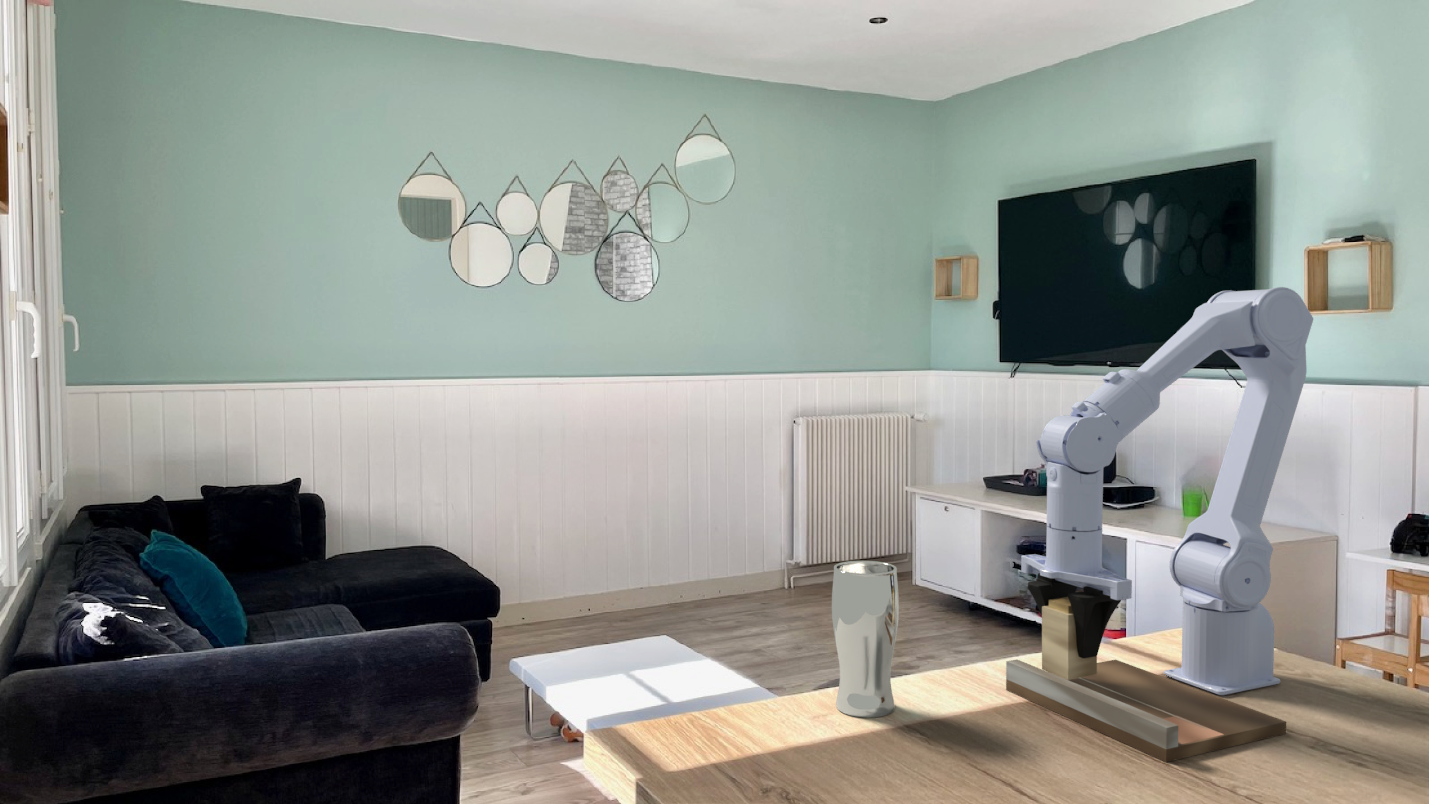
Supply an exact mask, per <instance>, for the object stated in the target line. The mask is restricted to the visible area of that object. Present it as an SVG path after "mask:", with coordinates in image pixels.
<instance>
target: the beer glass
mask: <svg viewBox="0 0 1429 804" xmlns="http://www.w3.org/2000/svg"><path fill="white" fill-rule="evenodd" d="M897 572H898V568H897V566H895V565H893V564H891V563H887V562H883V561H875V560H850V561H843V562H839V563H837V564H834V566H833V578H832V579H833V580H832V592H831V619H832V626H833V627H832V629H833V634H834V635H833V636H834V639H835V640H834V641H835V646H836V652H837V658H838V663H839V664H838V665H839V683H838V684H839V685H838V689H837V696H836V703H835V706H836V709H837V710H838V711H840V712H841V713H843V714H844V715H847V716H851V717H857V718H865V719H866V718H868V719H869V718H870V719H871V718H881V717H885V716H887V715H889V714H891V713H892V712H894V710H895V702H894V701H895V700H894V696H893V690H892V683H891V679H892V678H891V669H892V662H893V656H894V651H895V646H896V645H895V644H896V640H897V634H898V627H899V626H898V625H899V615H900V613H899V611H900V605H899V603H900V601H899V597H900V596H899V584H898V574H897Z"/></svg>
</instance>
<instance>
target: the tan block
mask: <svg viewBox="0 0 1429 804" xmlns="http://www.w3.org/2000/svg"><path fill="white" fill-rule="evenodd" d="M1097 663H1098V655H1097V656H1095V657H1089V658H1081V657H1079V656H1078V651H1077V643H1076V624H1075V618H1074V614H1073V610H1072V606H1071V604H1070V601H1069V599H1068V597H1063V598H1057V599H1050V600H1049V605H1048V606H1042V617H1041V669H1042V670H1044V671H1047V672H1050V673H1052V674H1055V675H1057V676H1060V677H1062V678H1065V679H1067V680H1070V679H1075V678H1080V677H1085V676H1090V675H1095V674H1097Z"/></svg>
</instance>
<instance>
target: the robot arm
mask: <svg viewBox="0 0 1429 804" xmlns="http://www.w3.org/2000/svg"><path fill="white" fill-rule="evenodd" d="M1313 322H1314V316H1313V315H1312V313H1311V312H1310V310H1309V309H1308V306H1307V305H1306V303H1305V302H1304V299H1303V298H1302V297H1301V296H1300V294H1299V293H1298V292H1296V291H1295V290H1293V289H1292V288H1289V287H1283V286H1282V287H1281V286H1279V287H1272V288H1269V289H1267V288H1265V289H1252V290H1249V289H1248V290H1237V291H1236V290H1232V289H1230V290H1222V291H1219V292H1217V293H1215V294H1214V295H1212V296H1211V297H1210V298H1209V299H1208V301H1207V302H1204V303H1202V304H1201V305H1199V306H1198V307H1196V308H1195V309H1194V312H1193V315H1192V317H1191V318H1190V319H1189V320H1188V321H1187V322H1186V323H1185V324H1184V325H1182V326H1181V327H1180V328H1179V329H1178V330H1177V331H1176V333H1175V334H1173V335H1172V336H1171V337H1170V338H1169V339H1168V340H1166V342H1165V343H1164V344H1163V345H1162V346H1161V347H1159V348H1158V350H1156V351H1155V352H1154V353H1153V354H1152V355H1151V356H1150V357H1149V358H1148V359H1147V360H1146V361H1145V362H1144V363H1143V364H1142V365H1141V366H1139V368H1138V369H1136V370H1135V369H1127V368H1124V369H1120V370H1119V371H1110V372H1108V373H1107V374H1106V375H1104V376H1103V377H1102V381H1103V382H1104V383H1103V384H1102V385H1100V386H1099V387H1098V388H1097V389H1096V390H1095V391H1094V392H1092V393H1091V394H1090V395H1089V396H1088V397H1087V398H1085V399H1084V400H1083V401H1077V402H1075V403H1074V404H1072V406H1071V412H1070V415H1066V414H1063V415H1058V416H1055V417H1054V418H1052V419H1051V420H1049V421H1048V422H1047V424H1046V425H1045V426H1044V428H1043V431H1042V433H1041V436H1040V438H1039V439H1037V440H1036V442H1035V443H1036V449H1037V452H1038V454H1039V456H1040V458H1041V459H1042V460H1043V462H1044V463H1045V467H1046V470H1045V471H1046V475H1045V476H1046V478H1047V479H1046V483H1047V484H1046V537H1045V538H1046V541H1045V542H1046V545H1045V547H1046V550H1045V551H1046V552H1045V553H1046V555H1045V556H1044V555H1040V554H1036V553H1034V554H1025V555H1021V557H1020V558H1021V560H1020V561H1021V563H1020V564H1021V567H1020V569H1021V570H1020V571H1021V573H1024V574H1027V575H1028V574H1029V575H1030V574H1033V575H1037V577H1036V578H1035V580H1033V581H1032V580H1031V581H1028V583H1027V589H1028V591H1029V593H1030V594H1031V596H1032V598H1033V599H1034V602H1035V603H1036V606H1037V609H1038V611H1039V613H1040V616H1041V618H1042V606H1048V605H1049V600H1050V599H1057V598H1063V597H1068V599H1069V601H1070V604H1071V606H1072V610H1073V614H1074V618H1075V624H1076V643H1077V651H1078V656H1079V657H1081V658H1089V657H1095V656H1097V657H1098V654H1099V651H1100V650H1099V649H1100V647H1101V643H1102V639H1103V636H1104V633H1105V631H1106V628H1107V625H1108V624H1109V621H1110V620H1111V617H1112V616H1113V614H1114V612H1115V610H1116V609H1117V608H1118V606H1119V604H1120V603H1121V602H1122V601H1123V600H1129V599H1132V598H1133V597H1132V596H1133V595H1132V592H1133V591H1132V588H1133V586H1132V585H1133V584H1132V583H1133V581H1132V579H1128V578H1126V577H1123V576H1121V575H1119V574H1116V573H1114V572H1112V571H1110V570H1109V569H1106V568H1104V567H1103V563H1102V562H1103V512H1104V511H1103V507H1104V506H1103V505H1104V504H1103V500H1104V499H1103V497H1104V495H1103V494H1104V468H1105V467H1108V466H1110V464H1112V461H1113V460H1114V459H1115V455H1116V452H1117V447H1118V444H1120V443H1121V441H1122V440H1123V439H1125V438H1126V437H1127V436H1128V435H1129V434H1130V433H1132V432H1133V431H1134V430H1135V429H1136V428H1137V427H1139V426H1140V425H1141V424H1142V423H1143V422H1145V420H1148V419H1149V418H1150V416H1153V414H1154V413H1155V412H1157V410H1158V409H1159V408H1160V404H1161V402H1160V401H1161V393H1162V392H1163V391H1164V390H1166V389H1167V388H1168V387H1169V386H1171V385H1172V384H1173V383H1175V382H1176V381H1177V380H1179V379H1180V378H1182V377H1183V376H1185V374H1187V373H1188V372H1189V371H1191V370H1192V369H1194V368H1195V367H1196V366H1197V365H1199V364H1200V363H1201V362H1203V361H1204V360H1205V359H1207V358H1208V357H1209V356H1212V354H1213V353H1215V352H1217V351H1223V352H1224V354H1226V356H1228V357H1229V358H1230V359H1231V360H1233V361H1234V362H1235V363H1236V364H1237V365H1238V366H1239V368H1240V369H1241V370H1242V373H1243V374H1244V376H1245V378H1246V379H1247V381H1246V385H1245V387H1244V390H1243V394H1242V397H1241V401H1240V403H1239V406H1238V411H1237V414H1236V416H1235V420H1234V422H1233V427H1232V429H1231V434H1230V435H1229V440H1228V443H1227V446H1226V449H1225V451H1224V456H1223V459H1222V463H1221V466H1220V469H1219V472H1218V475H1217V478H1216V481H1215V485H1214V488H1213V492H1212V495H1211V498H1210V501H1209V505H1208V508H1207V510H1206V511H1205V512H1204V513H1202V514H1201V515H1200V516H1198V517H1196V518H1195V519H1194V520H1192V521H1191V522H1190V523H1188V525H1187V527H1186V530H1185V534H1184V536H1183V538H1182V539H1181V541H1179V543H1177V545H1176V546H1175V547H1174V549H1173V551H1172V552H1171V555H1170V559H1169V573H1170V575H1171V577H1172V579H1173V581H1174V582H1175V583H1176V584H1177V586H1179V587H1180V588H1179V590H1180V592H1179V593H1180V594H1179V596H1181V597H1182V625H1181V627H1182V629H1181V631H1182V632H1181V633H1182V635H1181V667H1176V668H1171V669H1165V670H1163V675H1164V674H1166V675H1167V676H1166V675H1165V676H1166V677H1168V676H1169V677H1168V678H1171V677H1172V679H1175V680H1177V681H1178V682H1179V681H1180V682H1183V683H1185V684H1188V685H1191V686H1193V687H1197V688H1198V689H1199V688H1200V689H1202V690H1205V691H1207V692H1210V693H1213V694H1216V695H1219V696H1225V695H1231V694H1235V693H1239V692H1245V691H1249V690H1255V689H1259V688H1264V687H1270V686H1274V685H1277V684H1280V683H1281V680H1280V678H1278V677H1275V676H1274V665H1275V663H1274V661H1275V659H1274V658H1275V625H1274V624H1275V623H1274V620H1273V617H1272V615H1271V613H1270V612H1269V610H1268V608H1266V607H1265V606H1264V605H1263V604H1262V603H1261V602H1262V601H1263V600H1264V598H1265V597H1266V595H1267V594H1268V592H1269V590H1270V586H1271V581H1272V580H1271V579H1272V575H1271V574H1272V573H1271V567H1270V566H1271V565H1270V564H1271V558H1272V554H1273V551H1274V548H1273V545H1272V543H1271V542H1270V540H1269V539H1268V538H1267V536H1266V534H1265V533H1264V531H1263V530H1262V528H1261V523H1262V520H1263V518H1264V517H1263V516H1264V515H1265V511H1266V508H1267V505H1268V502H1269V499H1270V494H1271V491H1272V489H1273V486H1274V485H1273V484H1274V482H1275V478H1276V475H1277V472H1278V469H1279V466H1280V461H1281V459H1282V456H1283V452H1284V449H1285V447H1286V446H1285V445H1286V444H1287V440H1288V436H1289V434H1290V430H1291V426H1292V423H1293V420H1294V417H1295V413H1296V411H1297V407H1298V403H1299V400H1300V397H1301V394H1302V391H1303V387H1304V385H1305V381H1306V377H1307V351H1306V349H1307V348H1306V344H1307V342H1308V338H1309V335H1310V333H1311V329H1312V326H1313ZM1227 543H1228V544H1229V545H1228V546H1227V545H1225V544H1227ZM1077 588H1081V589H1083V591H1077Z"/></svg>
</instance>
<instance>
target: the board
mask: <svg viewBox="0 0 1429 804" xmlns="http://www.w3.org/2000/svg"><path fill="white" fill-rule="evenodd" d="M1005 664H1006V666H1005V667H1006V668H1005V669H1006V670H1005V671H1006V673H1005V674H1006V675H1005V676H1006V677H1005V678H1006V679H1005V690H1006V691H1008V692H1010V693H1013V694H1015V695H1016V696H1019V697H1021V698H1023V699H1026V700H1029V701H1030V702H1032V703H1035V704H1037V705H1038V706H1041V707H1044V708H1045V709H1048V710H1049V711H1052V712H1055V713H1056V714H1059V715H1061V716H1063V717H1065V718H1067V719H1070V720H1072V721H1074V722H1076V723H1079V724H1081V725H1083V726H1085V727H1087V728H1089V729H1091V730H1094V731H1097V732H1099V733H1101V734H1102V735H1105V736H1107V737H1109V738H1111V739H1114V740H1116V741H1118V742H1121V743H1123V744H1125V745H1127V746H1130V747H1131V748H1134V749H1136V750H1138V751H1140V752H1142V753H1144V754H1148V756H1149V755H1150V756H1151V757H1154V758H1156V759H1159V760H1160V761H1163V762H1164V763H1168V762H1172V761H1176V760H1180V759H1185V758H1189V757H1193V756H1197V755H1202V754H1207V753H1211V752H1215V751H1218V750H1223V749H1227V748H1231V747H1237V746H1240V745H1244V744H1248V743H1252V742H1256V741H1260V740H1265V739H1270V738H1273V737H1279V736H1283V735H1286V734H1287V721H1286V720H1284V719H1283V720H1282V719H1280V718H1278V717H1276V716H1272V715H1269V714H1268V713H1267V714H1266V713H1263V712H1260V711H1258V710H1255V709H1253V708H1249V707H1247V706H1244V705H1241V704H1239V703H1237V702H1233V701H1231V700H1228V699H1224V698H1222V697H1220V696H1217V695H1214V694H1212V693H1209V692H1206V691H1203V690H1200V689H1199V688H1198V689H1197V688H1195V687H1192V686H1189V685H1186V684H1183V683H1181V682H1179V681H1175V680H1173V679H1171V678H1169V677H1164V676H1161V675H1159V674H1157V673H1154V672H1151V671H1148V670H1146V669H1142V668H1140V667H1137V666H1135V665H1132V664H1129V663H1126V662H1123V661H1120V660H1118V659H1111V660H1107V661H1105V660H1104V661H1100V662H1097V674H1095V675H1090V676H1085V677H1080V678H1075V679H1070V680H1067V679H1065V678H1062V677H1060V676H1057V675H1055V674H1052V673H1050V672H1047V671H1045V670H1043V669H1042V668H1039V667H1036V666H1034V665H1031V663H1030V664H1029V663H1027V662H1024V661H1022V660H1020V659H1013V660H1011V659H1010V660H1007V661H1006V663H1005Z"/></svg>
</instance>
